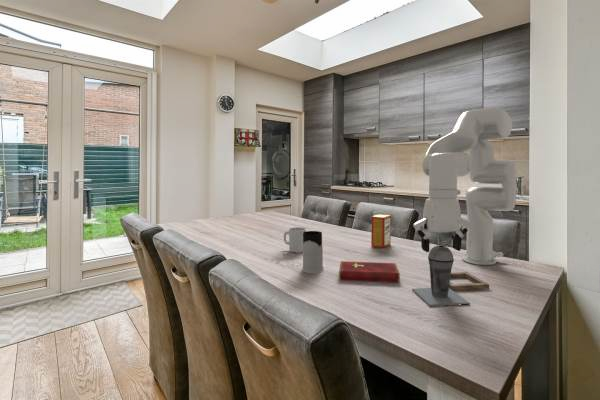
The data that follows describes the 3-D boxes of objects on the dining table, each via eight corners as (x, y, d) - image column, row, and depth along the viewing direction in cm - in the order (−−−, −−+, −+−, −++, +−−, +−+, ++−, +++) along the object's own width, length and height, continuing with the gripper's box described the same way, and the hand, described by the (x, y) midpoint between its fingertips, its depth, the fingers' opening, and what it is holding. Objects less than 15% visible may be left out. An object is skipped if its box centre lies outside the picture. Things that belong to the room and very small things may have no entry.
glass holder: (298, 272, 121) (298, 234, 119) (310, 261, 134) (309, 227, 133) (320, 274, 118) (319, 235, 116) (329, 263, 131) (329, 228, 130)
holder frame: (466, 275, 114) (466, 271, 114) (489, 288, 101) (489, 284, 101) (433, 277, 113) (433, 273, 113) (452, 290, 100) (452, 286, 100)
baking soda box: (378, 243, 166) (378, 213, 164) (390, 244, 162) (390, 214, 160) (371, 246, 158) (371, 215, 157) (383, 248, 154) (384, 216, 153)
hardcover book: (399, 284, 108) (399, 272, 107) (339, 281, 112) (339, 270, 111) (395, 272, 119) (395, 262, 119) (340, 270, 123) (340, 260, 123)
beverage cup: (455, 300, 91) (458, 234, 89) (429, 299, 93) (431, 233, 91) (448, 291, 98) (450, 229, 96) (424, 289, 100) (426, 228, 98)
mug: (309, 249, 155) (308, 227, 154) (302, 253, 147) (301, 231, 146) (288, 247, 160) (287, 226, 159) (280, 251, 152) (279, 229, 151)
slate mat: (447, 289, 102) (447, 287, 102) (469, 304, 90) (470, 302, 90) (412, 290, 101) (412, 288, 101) (429, 306, 89) (429, 304, 89)
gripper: (463, 192, 96) (461, 246, 98) (409, 194, 95) (408, 248, 97) (478, 194, 89) (476, 252, 91) (419, 196, 88) (419, 255, 90)
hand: (441, 250), depth 94 cm, fingers open, 9 cm apart
